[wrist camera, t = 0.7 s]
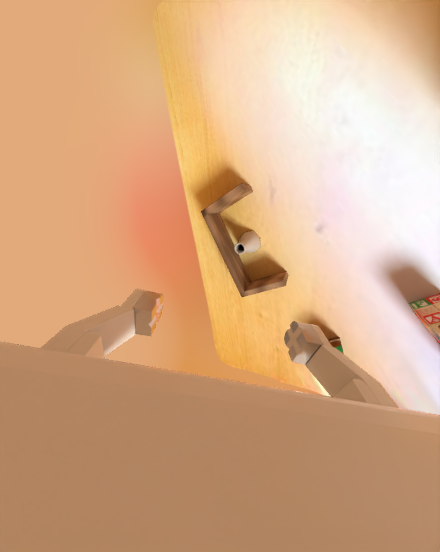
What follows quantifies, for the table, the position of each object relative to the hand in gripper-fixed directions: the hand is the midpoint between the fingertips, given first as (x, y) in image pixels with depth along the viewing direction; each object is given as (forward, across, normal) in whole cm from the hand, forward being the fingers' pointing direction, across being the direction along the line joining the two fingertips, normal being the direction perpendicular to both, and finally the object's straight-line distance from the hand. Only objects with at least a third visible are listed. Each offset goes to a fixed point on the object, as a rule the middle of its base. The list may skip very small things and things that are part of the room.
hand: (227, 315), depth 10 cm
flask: (+45, -10, +7) cm, 47 cm away
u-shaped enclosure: (+45, -10, +7) cm, 46 cm away
